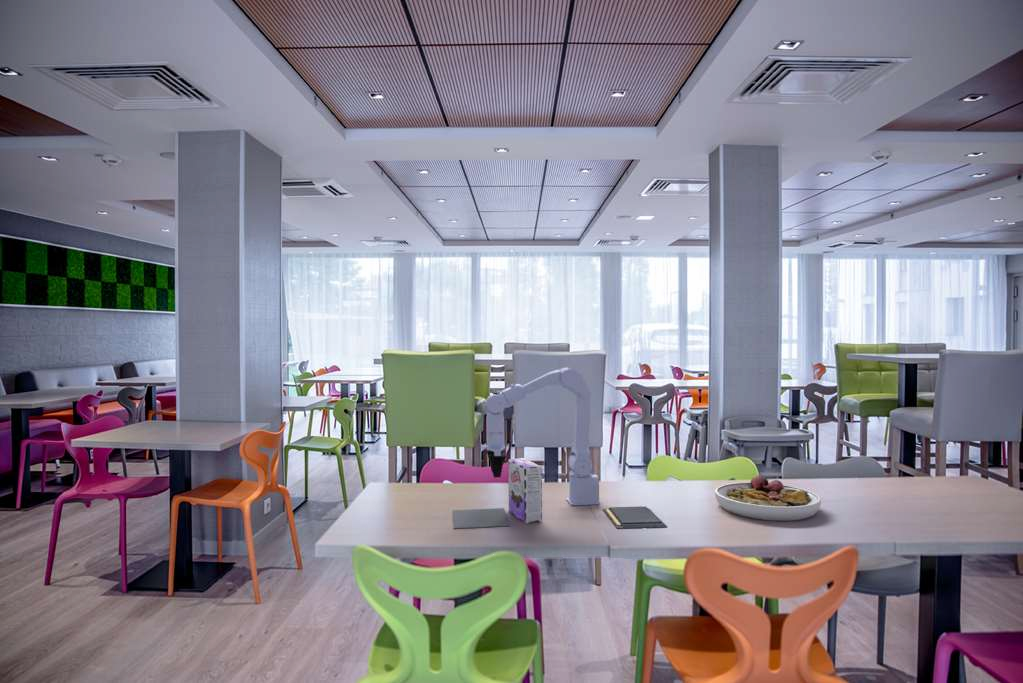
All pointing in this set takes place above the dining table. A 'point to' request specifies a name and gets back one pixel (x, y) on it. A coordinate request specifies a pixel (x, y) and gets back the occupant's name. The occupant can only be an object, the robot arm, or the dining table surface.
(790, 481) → the dining table surface
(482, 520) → the mat
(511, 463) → the candy box
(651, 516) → the wallet
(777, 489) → the bowl
